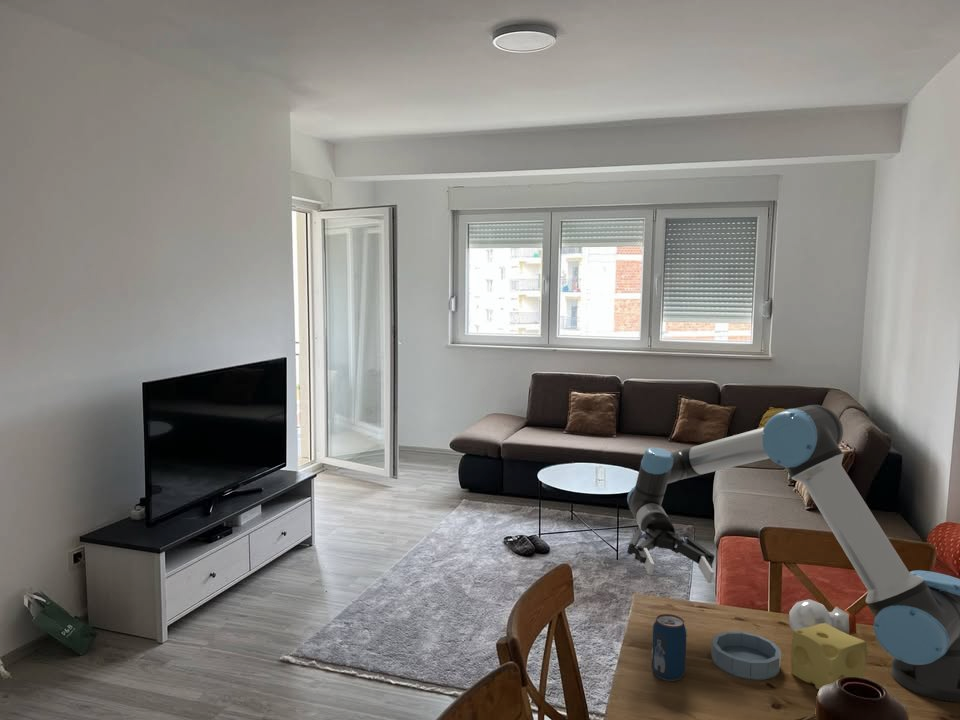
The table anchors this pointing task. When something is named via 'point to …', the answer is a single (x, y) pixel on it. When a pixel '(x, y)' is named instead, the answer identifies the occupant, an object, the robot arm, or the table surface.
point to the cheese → (826, 655)
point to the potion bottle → (820, 617)
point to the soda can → (669, 647)
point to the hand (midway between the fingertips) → (681, 573)
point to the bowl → (746, 655)
